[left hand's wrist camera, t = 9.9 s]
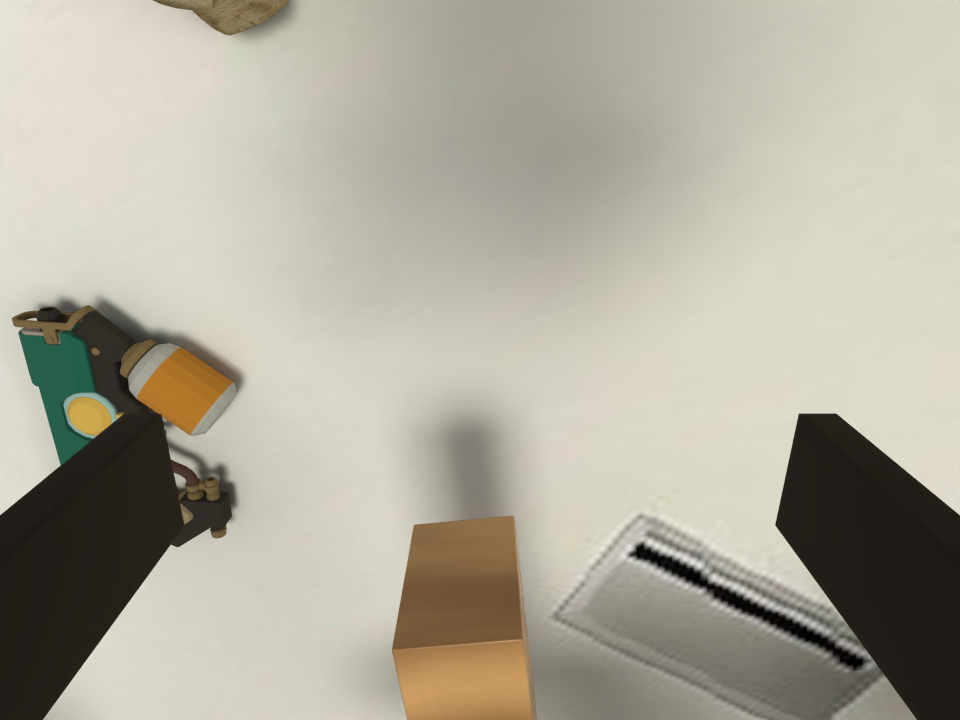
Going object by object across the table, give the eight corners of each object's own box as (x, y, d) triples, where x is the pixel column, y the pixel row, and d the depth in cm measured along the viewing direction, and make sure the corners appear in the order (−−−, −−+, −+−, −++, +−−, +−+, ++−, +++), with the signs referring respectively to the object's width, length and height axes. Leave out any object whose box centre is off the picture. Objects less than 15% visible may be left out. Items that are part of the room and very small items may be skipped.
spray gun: (232, 539, 47) (35, 480, 46) (273, 351, 40) (43, 276, 39) (207, 579, 43) (-9, 517, 42) (247, 379, 36) (-10, 297, 35)
